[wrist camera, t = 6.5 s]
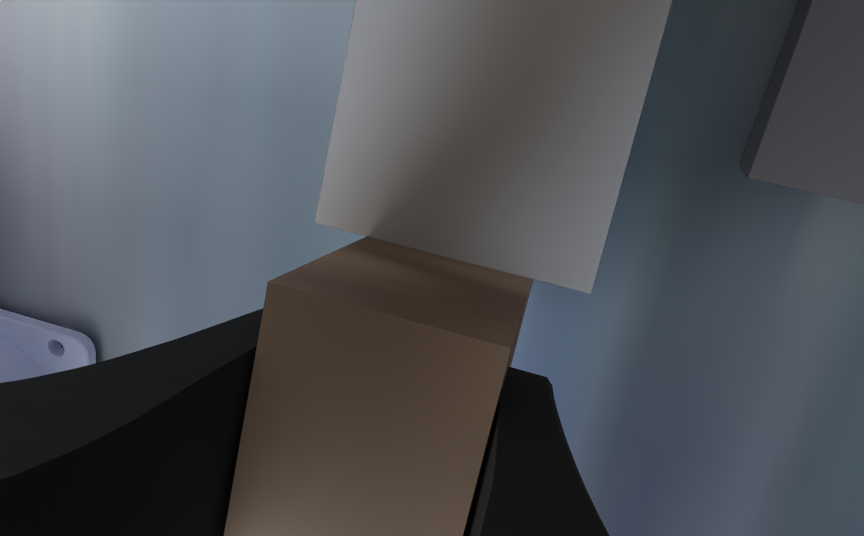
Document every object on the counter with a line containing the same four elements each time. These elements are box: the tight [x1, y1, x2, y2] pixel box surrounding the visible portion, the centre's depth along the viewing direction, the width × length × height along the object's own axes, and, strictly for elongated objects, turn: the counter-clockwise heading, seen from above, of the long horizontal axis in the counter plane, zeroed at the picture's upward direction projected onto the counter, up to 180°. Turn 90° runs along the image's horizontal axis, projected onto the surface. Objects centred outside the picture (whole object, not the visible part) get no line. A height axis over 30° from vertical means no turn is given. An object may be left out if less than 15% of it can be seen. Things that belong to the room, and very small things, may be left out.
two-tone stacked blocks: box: [224, 0, 672, 536], centre depth 10 cm, size 5×12×5 cm, turn 170°
